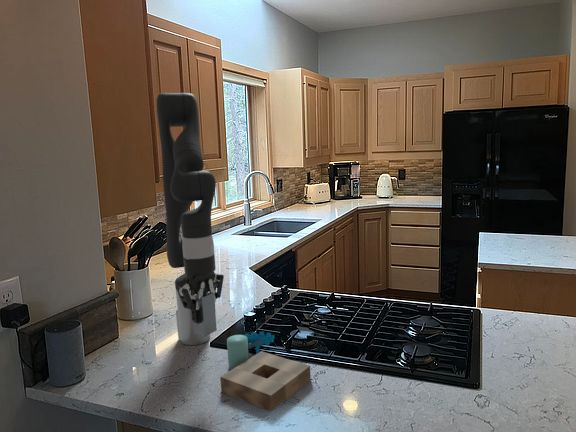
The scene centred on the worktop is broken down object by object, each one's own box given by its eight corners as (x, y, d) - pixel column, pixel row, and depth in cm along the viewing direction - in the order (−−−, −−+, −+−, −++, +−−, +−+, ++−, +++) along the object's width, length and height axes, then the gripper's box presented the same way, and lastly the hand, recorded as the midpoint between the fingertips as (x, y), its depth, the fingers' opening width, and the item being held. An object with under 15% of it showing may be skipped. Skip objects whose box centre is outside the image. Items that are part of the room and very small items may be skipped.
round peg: (224, 368, 128) (222, 340, 127) (238, 359, 133) (236, 333, 131) (239, 373, 125) (237, 345, 123) (253, 364, 129) (251, 337, 128)
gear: (277, 339, 141) (270, 327, 132) (278, 358, 137) (271, 347, 129) (241, 344, 142) (232, 332, 134) (242, 364, 138) (232, 353, 130)
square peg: (193, 332, 117) (190, 294, 115) (205, 327, 120) (202, 290, 119) (205, 336, 115) (201, 297, 113) (216, 330, 118) (213, 292, 116)
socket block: (221, 391, 116) (220, 376, 116) (262, 364, 129) (261, 351, 128) (271, 411, 107) (270, 395, 106) (310, 380, 119) (310, 365, 119)
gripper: (209, 245, 122) (214, 307, 125) (165, 258, 110) (172, 326, 114) (230, 248, 117) (234, 313, 120) (186, 262, 106) (193, 333, 109)
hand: (204, 319), depth 117 cm, fingers closed on square peg, 4 cm apart
